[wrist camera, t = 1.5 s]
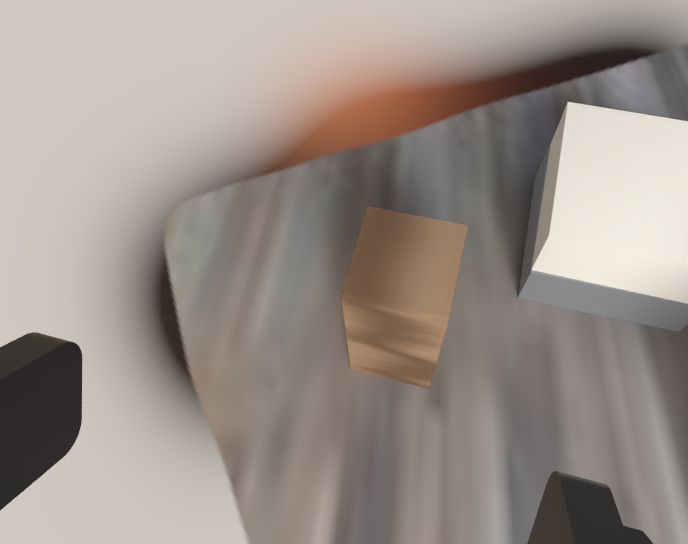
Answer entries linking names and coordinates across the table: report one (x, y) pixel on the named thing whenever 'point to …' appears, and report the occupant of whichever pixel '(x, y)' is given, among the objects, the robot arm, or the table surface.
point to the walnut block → (400, 293)
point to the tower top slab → (617, 202)
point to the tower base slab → (590, 284)
